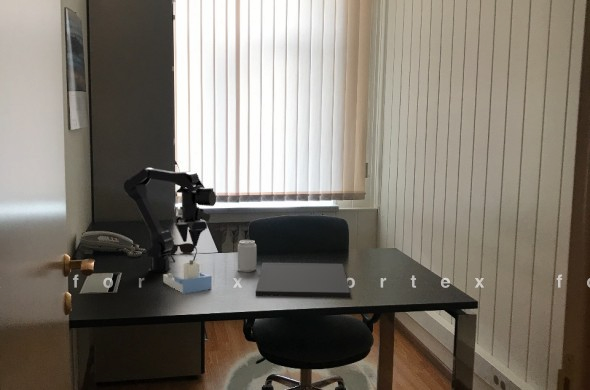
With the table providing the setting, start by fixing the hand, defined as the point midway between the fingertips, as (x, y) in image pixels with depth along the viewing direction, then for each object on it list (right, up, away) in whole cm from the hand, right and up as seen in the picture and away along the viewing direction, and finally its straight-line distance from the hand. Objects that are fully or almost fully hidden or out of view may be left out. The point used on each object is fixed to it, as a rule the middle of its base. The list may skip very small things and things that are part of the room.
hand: (189, 243), depth 245 cm
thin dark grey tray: (+44, -14, -6) cm, 46 cm away
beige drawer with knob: (+4, -15, -17) cm, 23 cm away
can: (+22, -11, +9) cm, 26 cm away
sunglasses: (-8, -9, +29) cm, 31 cm away
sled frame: (+1, -14, -14) cm, 20 cm away
